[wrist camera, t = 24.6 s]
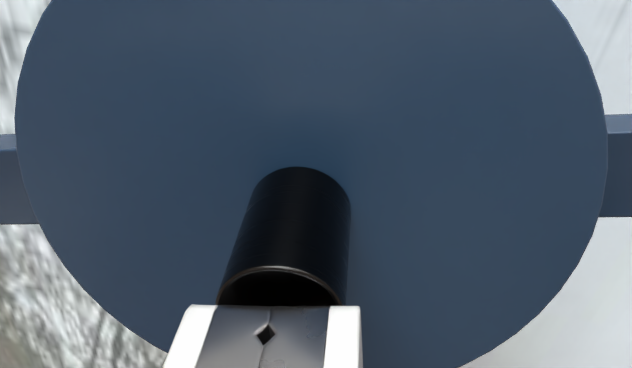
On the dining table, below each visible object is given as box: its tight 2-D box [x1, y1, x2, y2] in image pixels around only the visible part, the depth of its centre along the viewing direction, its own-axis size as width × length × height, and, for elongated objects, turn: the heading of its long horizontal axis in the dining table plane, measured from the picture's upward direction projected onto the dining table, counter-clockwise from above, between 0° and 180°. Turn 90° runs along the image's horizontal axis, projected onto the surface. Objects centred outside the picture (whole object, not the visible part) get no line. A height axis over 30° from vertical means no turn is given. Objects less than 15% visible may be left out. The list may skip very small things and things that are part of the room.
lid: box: [15, 0, 608, 368], centre depth 12 cm, size 14×14×5 cm
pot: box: [0, 114, 632, 225], centre depth 17 cm, size 13×18×10 cm
